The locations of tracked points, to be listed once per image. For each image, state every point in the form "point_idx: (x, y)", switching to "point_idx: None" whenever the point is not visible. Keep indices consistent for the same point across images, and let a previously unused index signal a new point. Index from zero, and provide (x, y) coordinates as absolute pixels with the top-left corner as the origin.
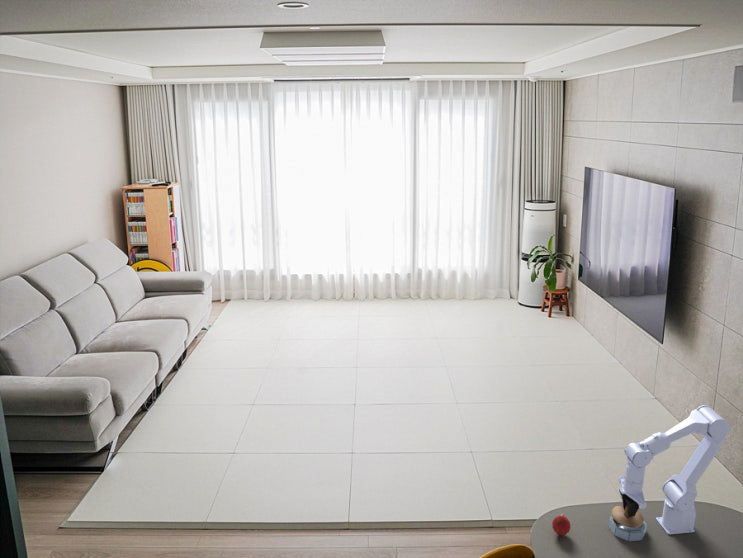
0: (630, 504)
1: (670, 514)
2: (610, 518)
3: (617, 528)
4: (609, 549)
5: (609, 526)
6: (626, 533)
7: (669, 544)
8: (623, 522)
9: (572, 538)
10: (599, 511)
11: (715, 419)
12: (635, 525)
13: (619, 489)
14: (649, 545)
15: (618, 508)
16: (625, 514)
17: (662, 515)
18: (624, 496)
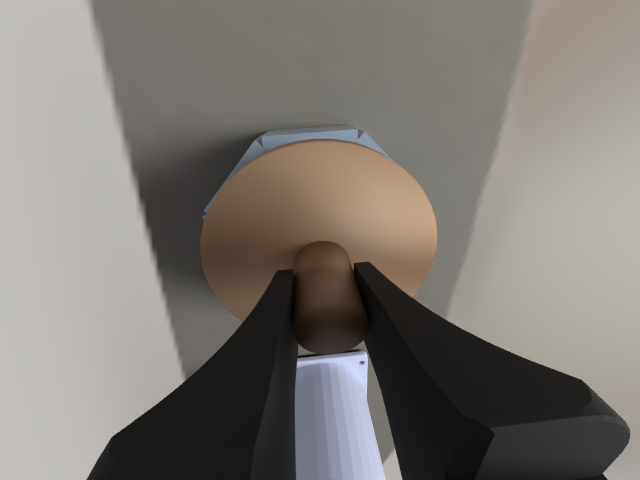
0: (100, 463)
1: (296, 456)
2: (363, 140)
3: (253, 150)
4: (116, 29)
5: (335, 126)
6: (214, 196)
7: (217, 348)
8: (224, 202)
9: None
10: (481, 122)
11: None
12: (208, 278)
13: (625, 428)
14: (200, 279)
15: (406, 227)
16: (311, 253)
17: (346, 393)
18: (422, 391)
